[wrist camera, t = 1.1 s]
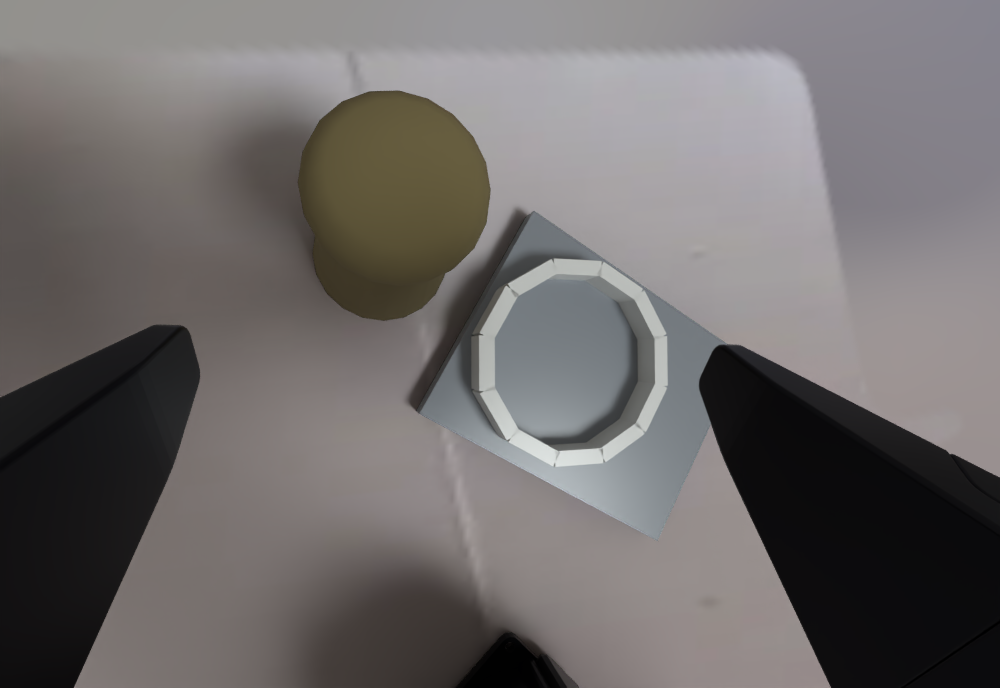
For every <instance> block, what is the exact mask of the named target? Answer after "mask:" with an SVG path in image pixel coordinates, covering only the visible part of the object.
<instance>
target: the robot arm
mask: <svg viewBox="0 0 1000 688" xmlns="http://www.w3.org/2000/svg"><path fill="white" fill-rule="evenodd" d="M199 380H200V368H199V364H198V361H197V357H196V353H195V350H194V346H193V343H192V339H191V335H190V333H189V331H188V330H187V328H185V327H184V326H181V325H153V326H150V327H148V328H146V329H144V330H142V331H140V332H138V333H136V334H134V335H131V336H129V337H127V338H125V339H123V340H121V341H119V342H117V343H115V344H112V345H110V346H108V347H106V348H104V349H102V350H100V351H98V352H96V353H93V354H91V355H89V356H87V357H85V358H83V359H81V360H79V361H77V362H74V363H72V364H70V365H68V366H66V367H64V368H62V369H60V370H57V371H55V372H53V373H51V374H49V375H47V376H45V377H43V378H41V379H38V380H36V381H34V382H32V383H30V384H28V385H26V386H24V387H22V388H19V389H17V390H15V391H13V392H11V393H9V394H7V395H5V396H3V397H0V688H74V686H75V684H76V682H77V679H78V677H79V675H80V673H81V670H82V668H83V666H84V664H85V662H86V659H87V657H88V655H89V653H90V650H91V648H92V646H93V644H94V642H95V639H96V637H97V635H98V633H99V631H100V628H101V626H102V624H103V622H104V619H105V617H106V615H107V613H108V611H109V608H110V606H111V604H112V602H113V600H114V597H115V595H116V593H117V591H118V588H119V586H120V584H121V582H122V580H123V577H124V575H125V573H126V571H127V569H128V566H129V564H130V562H131V560H132V557H133V555H134V553H135V551H136V549H137V546H138V544H139V542H140V540H141V538H142V535H143V533H144V531H145V529H146V526H147V524H148V522H149V520H150V518H151V515H152V513H153V511H154V509H155V506H156V504H157V502H158V500H159V498H160V495H161V493H162V491H163V489H164V487H165V484H166V482H167V480H168V477H169V475H170V473H171V470H172V468H173V465H174V462H175V459H176V456H177V453H178V450H179V447H180V444H181V440H182V437H183V434H184V430H185V427H186V424H187V421H188V417H189V414H190V411H191V408H192V404H193V401H194V398H195V394H196V391H197V388H198V385H199ZM699 391H700V394H701V397H702V400H703V403H704V406H705V408H706V411H707V414H708V417H709V420H710V423H711V425H712V428H713V431H714V434H715V437H716V440H717V443H718V445H719V448H720V451H721V454H722V456H723V459H724V461H725V463H726V466H727V468H728V470H729V472H730V475H731V477H732V479H733V481H734V483H735V485H736V487H737V489H738V491H739V494H740V496H741V498H742V500H743V502H744V504H745V506H746V508H747V511H748V513H749V515H750V517H751V519H752V521H753V523H754V525H755V527H756V530H757V532H758V534H759V536H760V538H761V540H762V542H763V544H764V547H765V549H766V551H767V553H768V555H769V557H770V559H771V561H772V564H773V566H774V568H775V570H776V572H777V574H778V576H779V578H780V580H781V583H782V585H783V587H784V589H785V591H786V593H787V595H788V597H789V600H790V602H791V604H792V606H793V608H794V610H795V612H796V614H797V616H798V619H799V621H800V623H801V625H802V627H803V629H804V631H805V633H806V636H807V638H808V640H809V642H810V644H811V646H812V648H813V650H814V653H815V655H816V657H817V659H818V661H819V663H820V665H821V667H822V669H823V672H824V674H825V676H826V678H827V680H828V682H829V684H830V686H831V688H1000V477H998V476H996V475H993V474H992V473H989V472H987V471H985V470H984V469H982V468H980V467H978V466H976V465H974V464H972V463H970V462H968V461H966V460H964V459H962V458H960V457H958V456H956V455H954V454H949V453H948V452H947V451H946V450H944V449H942V448H940V447H938V446H936V445H934V444H932V443H931V442H929V441H927V440H925V439H923V438H921V437H919V436H917V435H915V434H913V433H911V432H909V431H907V430H905V429H903V428H901V427H899V426H897V425H895V424H893V423H891V422H889V421H888V420H886V419H884V418H882V417H880V416H878V415H876V414H874V413H872V412H870V411H868V410H866V409H864V408H862V407H860V406H858V405H856V404H854V403H852V402H850V401H848V400H846V399H845V398H843V397H841V396H839V395H837V394H835V393H833V392H831V391H829V390H827V389H825V388H823V387H821V386H819V385H817V384H815V383H813V382H811V381H809V380H807V379H805V378H804V377H802V376H800V375H798V374H796V373H794V372H792V371H790V370H788V369H786V368H784V367H782V366H780V365H778V364H776V363H774V362H772V361H770V360H768V359H766V358H764V357H762V356H761V355H759V354H757V353H755V352H753V351H751V350H749V349H747V348H745V347H743V346H741V345H729V344H720V345H718V346H716V347H715V348H714V349H713V351H712V353H711V355H710V357H709V359H708V361H707V363H706V366H705V368H704V370H703V372H702V374H701V376H700V379H699ZM509 642H512V645H511V647H509V648H505V646H506V644H508V643H509ZM456 688H579V687H578V685H577V684H576V683H575V682H574V681H573V680H572V679H571V678H570V677H569V676H568V675H567V674H566V673H565V672H564V671H563V670H562V669H561V668H560V667H559V666H558V665H557V664H556V663H555V662H554V661H553V660H552V659H551V658H550V657H549V656H548V655H540V656H539V657H537V656H536V655H535V654H534V653H533V652H532V651H531V650H530V649H529V648H528V647H527V646H526V645H525V644H524V643H523V642H522V641H521V640H520V639H519V638H518V637H517V636H516V635H514V634H513V633H505V634H503V635H502V636H501V637H500V638H499V639H498V640H497V642H496V643H495V644H494V645H493V646H492V647H491V648H490V650H489V651H488V652H487V653H486V654H485V655H484V656H483V658H482V659H481V660H480V661H479V662H478V663H477V664H476V666H475V667H474V668H473V669H472V670H471V671H470V673H469V674H468V675H467V676H466V677H465V678H464V679H463V681H462V682H461V683H460V684H459V685H458V686H457V687H456Z"/></svg>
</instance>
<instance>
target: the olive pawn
mask: <svg viewBox="0 0 1000 688" xmlns="http://www.w3.org/2000/svg"><path fill="white" fill-rule="evenodd" d="M298 186H299V192H300V197H301V203H302V208H303V213H304V216H305V218H306V220H307V222H308V224H309V225H310V227H311V229H312V231H313V233H314V234H315V240H314V247H313V259H314V264H315V269H316V274H317V276H318V278H319V280H320V282H321V283H322V285H323V287H324V289H325V291H326V292H327V294H328V295H329V296H331V297H332V298H333V299H334V300H335V301H336V302H337V303H338V304H339V305H340V306H341V307H342V308H344V309H346V310H348V311H350V312H352V313H354V314H356V315H358V316H360V317H363V318H369V319H376V320H383V321H384V320H390V319H397V318H403V317H406V316H407V315H409V314H411V313H413V312H415V311H417V310H419V309H421V308H422V307H423V306H424V305H425V304H426V303H427V302H428V301H429V300H430V299H431V298H432V297H433V296H434V295H435V294H436V292H437V290H438V288H439V286H440V284H441V282H442V280H443V278H444V275H445V273H447V272H449V271H451V270H452V269H453V268H455V267H456V266H457V265H458V264H459V263H460V262H461V261H462V260H463V259H464V258H465V257H466V256H467V255H468V254H469V253H470V252H471V251H472V250H473V249H474V248H475V246H476V244H477V242H478V239H479V237H480V235H481V233H482V231H483V229H484V227H485V225H486V222H487V215H488V207H489V200H490V190H491V189H490V184H489V178H488V172H487V166H486V162H485V160H484V158H483V156H482V154H481V152H480V149H479V147H478V145H477V143H476V141H475V139H474V137H473V136H472V135H471V134H470V132H469V131H468V130H467V129H466V128H465V127H464V126H463V125H462V124H461V123H460V122H459V120H458V119H457V118H456V117H455V116H454V115H453V114H452V113H450V112H448V111H447V110H445V109H444V108H442V107H440V106H439V105H437V104H435V103H434V102H432V101H431V100H429V99H427V98H423V97H420V96H416V95H413V94H409V93H406V92H402V91H370V92H367V93H364V94H361V95H359V96H356V97H353V98H350V99H348V100H345V101H342V102H341V103H340V104H339V105H337V106H336V107H335V108H334V109H333V110H331V111H330V112H329V113H328V114H327V115H326V116H324V117H323V118H322V119H321V120H320V121H319V123H318V124H317V126H316V128H315V130H314V132H313V133H312V135H311V137H310V139H309V141H308V142H307V144H306V146H305V148H304V150H303V152H302V159H301V165H300V172H299V178H298Z"/></svg>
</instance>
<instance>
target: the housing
mask: <svg viewBox="0 0 1000 688" xmlns="http://www.w3.org/2000/svg"><path fill="white" fill-rule="evenodd" d="M720 344H726V343H725V342H724V341H722V340H721V339H719V338H718V337H716V336H715V335H713V334H712V333H710V332H709V331H708V330H706V329H705V328H703V327H702V326H700V325H699V324H697V323H696V322H695V321H693V320H692V319H690V318H689V317H687V316H686V315H684V314H683V313H681V312H680V311H679V310H677V309H676V308H674V307H673V306H671V305H670V304H668V303H667V302H666V301H664V300H663V299H661V298H660V297H658V296H657V295H655V294H654V293H653V292H651V291H650V290H648V289H647V288H645V287H644V286H642V285H641V284H639V283H638V282H637V281H635V280H634V279H632V278H631V277H629V276H628V275H626V274H625V273H624V272H622V271H621V270H619V269H618V268H616V267H615V266H613V265H612V264H611V263H609V262H608V261H606V260H605V259H603V258H602V257H600V256H599V255H597V254H596V253H595V252H593V251H592V250H590V249H589V248H587V247H586V246H584V245H583V244H582V243H580V242H579V241H577V240H576V239H574V238H573V237H571V236H570V235H568V234H567V233H566V232H564V231H563V230H561V229H560V228H558V227H557V226H555V225H554V224H553V223H551V222H550V221H548V220H547V219H545V218H544V217H542V216H541V215H540V214H538V213H537V212H535V211H533V212H532V213H531V214H529V215H528V216H527V217H526V218H525V220H524V221H523V223H522V225H521V227H520V228H519V230H518V232H517V234H516V235H515V237H514V239H513V241H512V242H511V244H510V246H509V248H508V250H507V251H506V253H505V255H504V257H503V258H502V260H501V262H500V264H499V265H498V267H497V269H496V271H495V273H494V274H493V276H492V278H491V280H490V281H489V283H488V285H487V287H486V288H485V290H484V292H483V294H482V296H481V297H480V299H479V301H478V303H477V304H476V306H475V308H474V310H473V311H472V313H471V315H470V317H469V319H468V320H467V322H466V324H465V326H464V327H463V329H462V331H461V333H460V334H459V336H458V338H457V340H456V342H455V343H454V345H453V347H452V349H451V350H450V352H449V354H448V356H447V357H446V359H445V361H444V363H443V364H442V366H441V368H440V370H439V372H438V373H437V375H436V377H435V379H434V380H433V382H432V384H431V386H430V387H429V389H428V391H427V393H426V395H425V396H424V398H423V400H422V402H421V403H420V405H419V407H418V409H417V410H416V411H417V412H418V413H419V414H421V415H422V416H424V417H426V418H428V419H430V420H432V421H434V422H436V423H437V424H439V425H441V426H443V427H445V428H447V429H449V430H451V431H452V432H454V433H456V434H458V435H460V436H462V437H464V438H465V439H467V440H469V441H471V442H473V443H475V444H477V445H479V446H480V447H482V448H484V449H486V450H488V451H490V452H492V453H494V454H495V455H497V456H499V457H501V458H503V459H505V460H507V461H509V462H510V463H512V464H514V465H516V466H518V467H520V468H522V469H524V470H525V471H527V472H529V473H531V474H533V475H535V476H537V477H539V478H540V479H542V480H544V481H546V482H548V483H550V484H552V485H553V486H555V487H557V488H559V489H561V490H563V491H565V492H567V493H568V494H570V495H572V496H574V497H576V498H578V499H580V500H582V501H583V502H585V503H587V504H589V505H591V506H593V507H595V508H597V509H598V510H600V511H602V512H604V513H606V514H608V515H610V516H612V517H613V518H615V519H617V520H619V521H621V522H623V523H625V524H627V525H628V526H630V527H632V528H634V529H636V530H638V531H640V532H641V533H643V534H645V535H647V536H649V537H651V538H653V539H655V540H656V541H658V538H659V536H660V534H661V532H662V530H663V528H664V525H665V523H666V521H667V519H668V517H669V514H670V512H671V510H672V508H673V506H674V504H675V501H676V499H677V497H678V495H679V493H680V490H681V488H682V486H683V484H684V482H685V479H686V477H687V475H688V473H689V471H690V469H691V466H692V464H693V462H694V460H695V458H696V455H697V453H698V451H699V449H700V447H701V445H702V442H703V440H704V438H705V436H706V434H707V431H708V429H709V427H710V425H711V423H710V420H709V417H708V414H707V411H706V408H705V406H704V403H703V400H702V397H701V394H700V391H699V379H700V376H701V374H702V372H703V370H704V368H705V366H706V363H707V361H708V359H709V357H710V355H711V353H712V351H713V349H714V348H715V347H716V346H718V345H720Z"/></svg>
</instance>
